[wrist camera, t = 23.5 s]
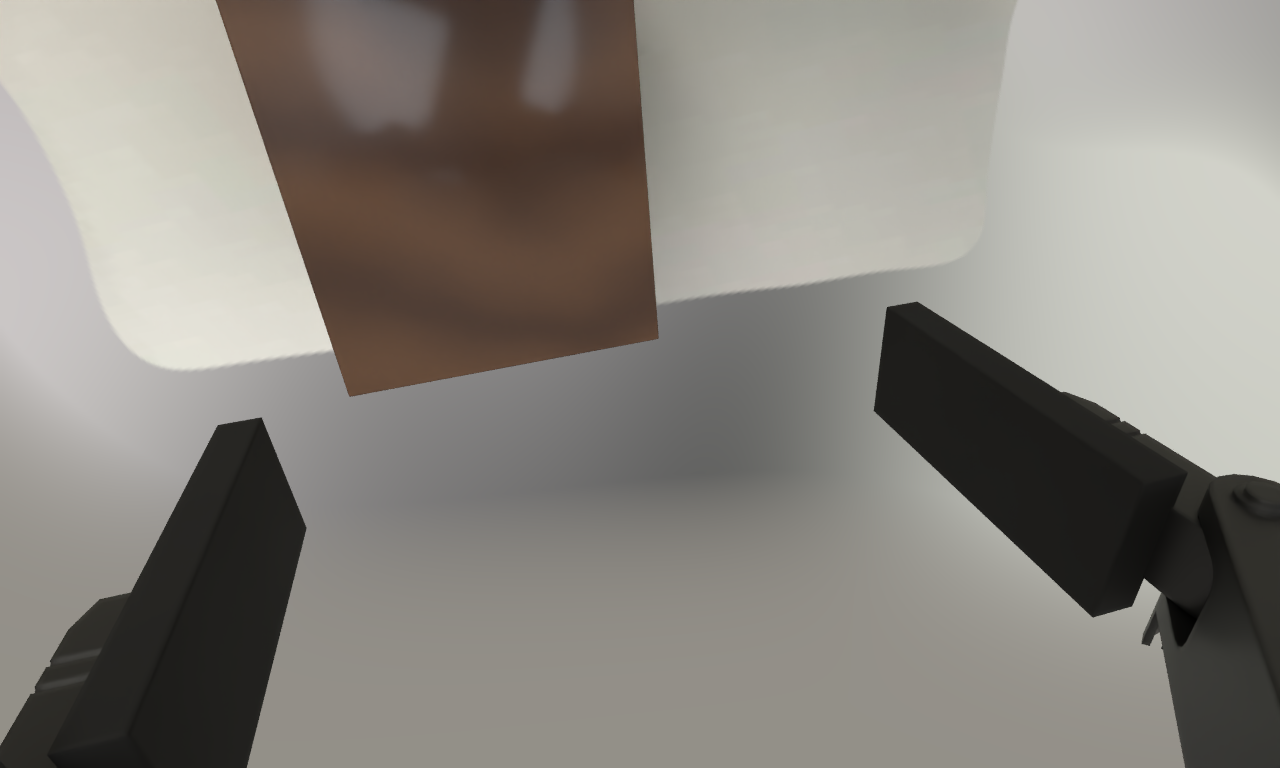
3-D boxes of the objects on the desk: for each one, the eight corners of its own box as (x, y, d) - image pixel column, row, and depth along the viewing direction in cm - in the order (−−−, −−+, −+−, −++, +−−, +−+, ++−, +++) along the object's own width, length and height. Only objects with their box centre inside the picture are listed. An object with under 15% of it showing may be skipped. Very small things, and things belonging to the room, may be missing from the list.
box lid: (169, -158, 19) (92, -207, 15) (614, -179, 21) (659, -226, 17) (351, 387, 28) (335, 456, 23) (653, 331, 30) (690, 385, 26)
